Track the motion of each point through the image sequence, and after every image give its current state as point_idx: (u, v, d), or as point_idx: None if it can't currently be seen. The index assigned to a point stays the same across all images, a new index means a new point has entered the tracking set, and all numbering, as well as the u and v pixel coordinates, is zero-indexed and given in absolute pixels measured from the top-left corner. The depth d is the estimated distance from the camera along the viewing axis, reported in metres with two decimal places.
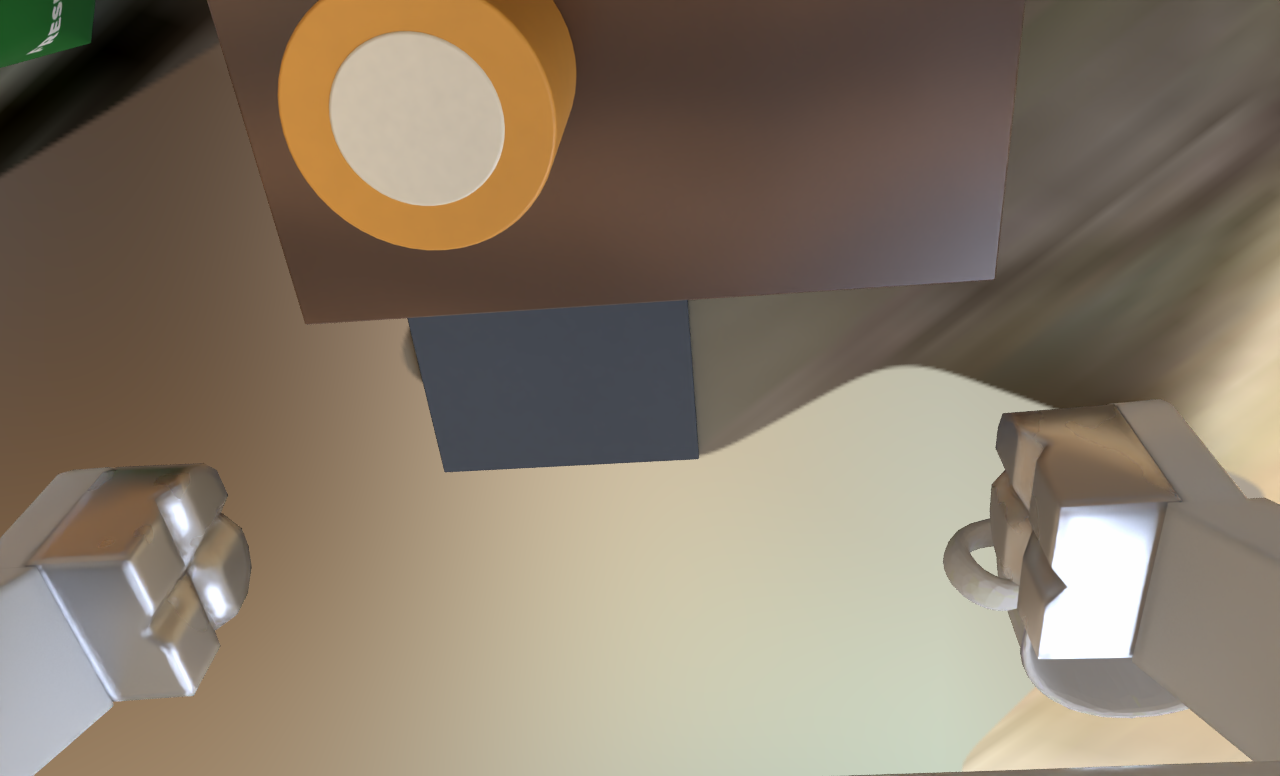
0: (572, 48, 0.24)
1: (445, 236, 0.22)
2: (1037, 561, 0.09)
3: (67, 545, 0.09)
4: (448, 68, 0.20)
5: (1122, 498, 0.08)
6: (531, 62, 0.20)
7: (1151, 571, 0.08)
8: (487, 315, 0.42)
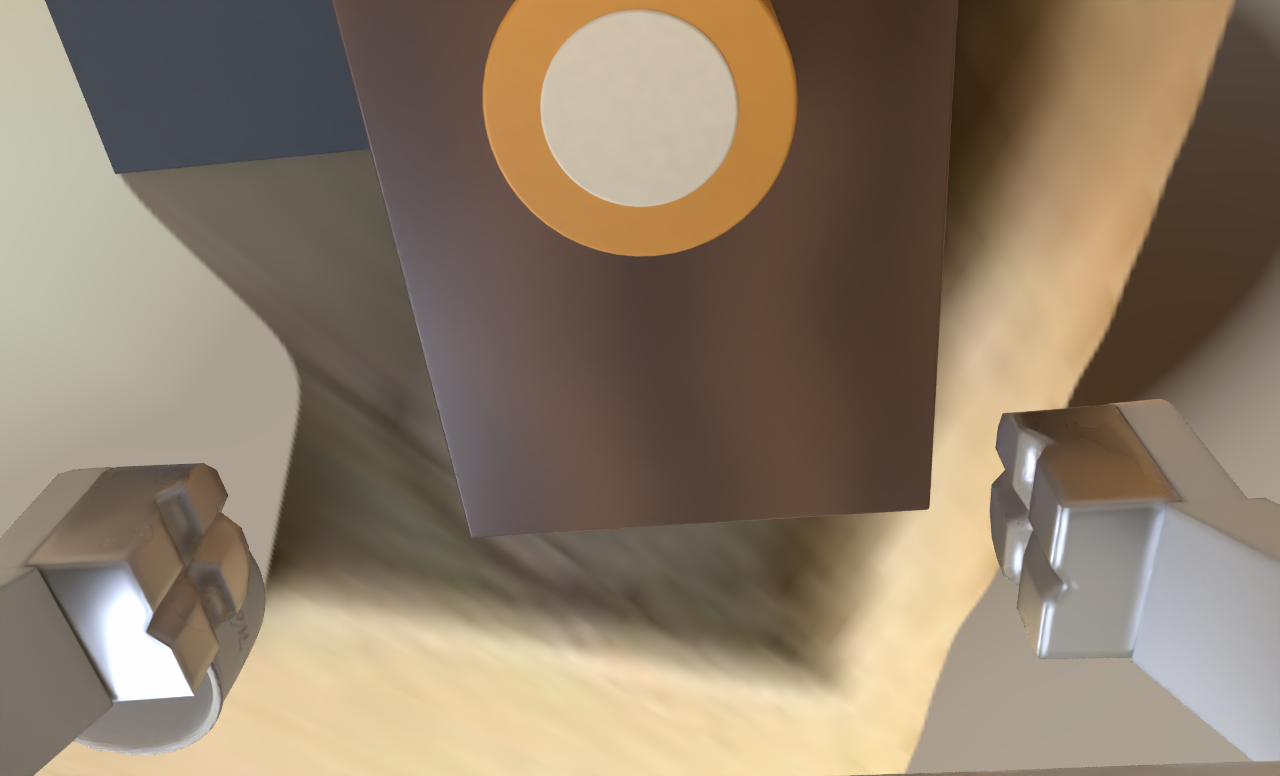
0: None
1: (504, 131, 0.19)
2: (1037, 561, 0.09)
3: (67, 545, 0.09)
4: (698, 153, 0.19)
5: (1122, 498, 0.08)
6: (704, 237, 0.20)
7: (1151, 571, 0.08)
8: None
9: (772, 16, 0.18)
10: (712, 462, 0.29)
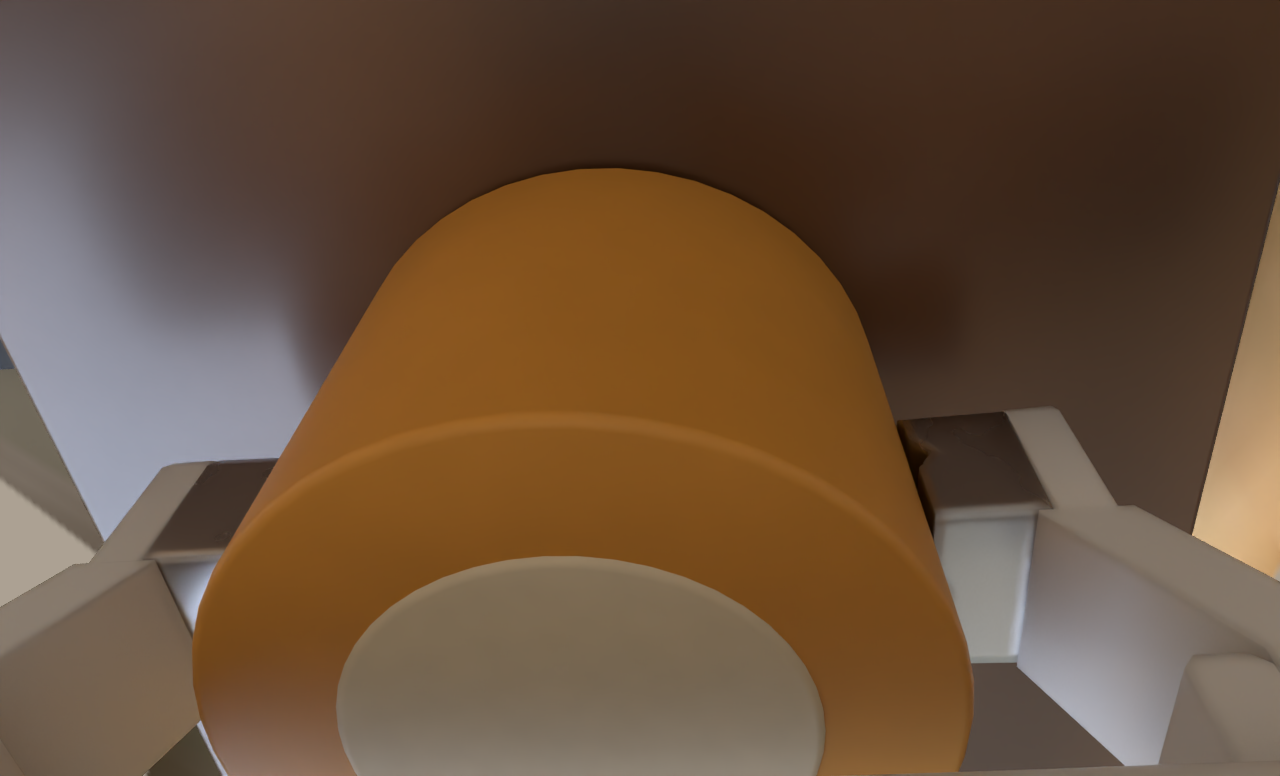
0: None
1: (256, 761, 0.08)
2: None
3: (184, 538, 0.09)
4: None
5: (997, 505, 0.08)
6: None
7: (1030, 577, 0.08)
8: None
9: (928, 576, 0.07)
10: None
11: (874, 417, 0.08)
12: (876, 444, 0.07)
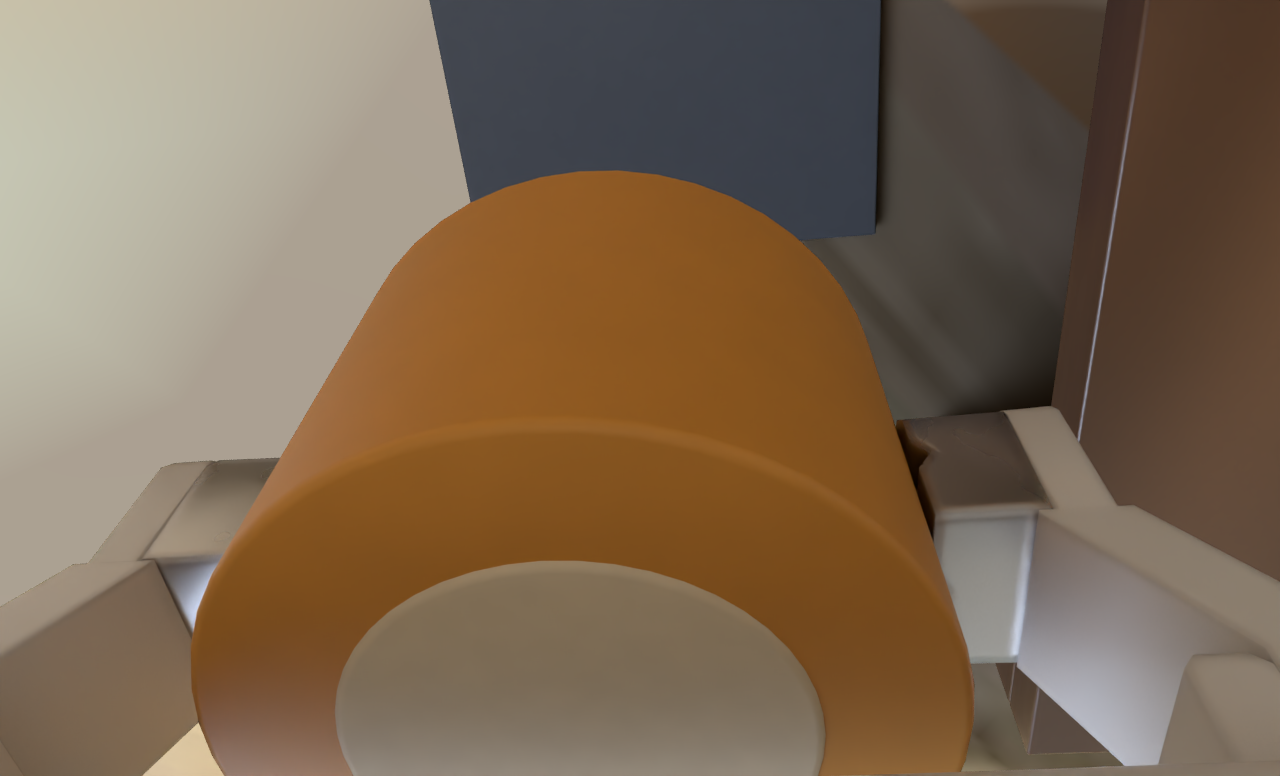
0: None
1: (255, 765, 0.08)
2: None
3: (182, 539, 0.09)
4: None
5: (997, 505, 0.08)
6: None
7: (1029, 577, 0.08)
8: None
9: (929, 581, 0.07)
10: None
11: (874, 420, 0.08)
12: (876, 448, 0.07)
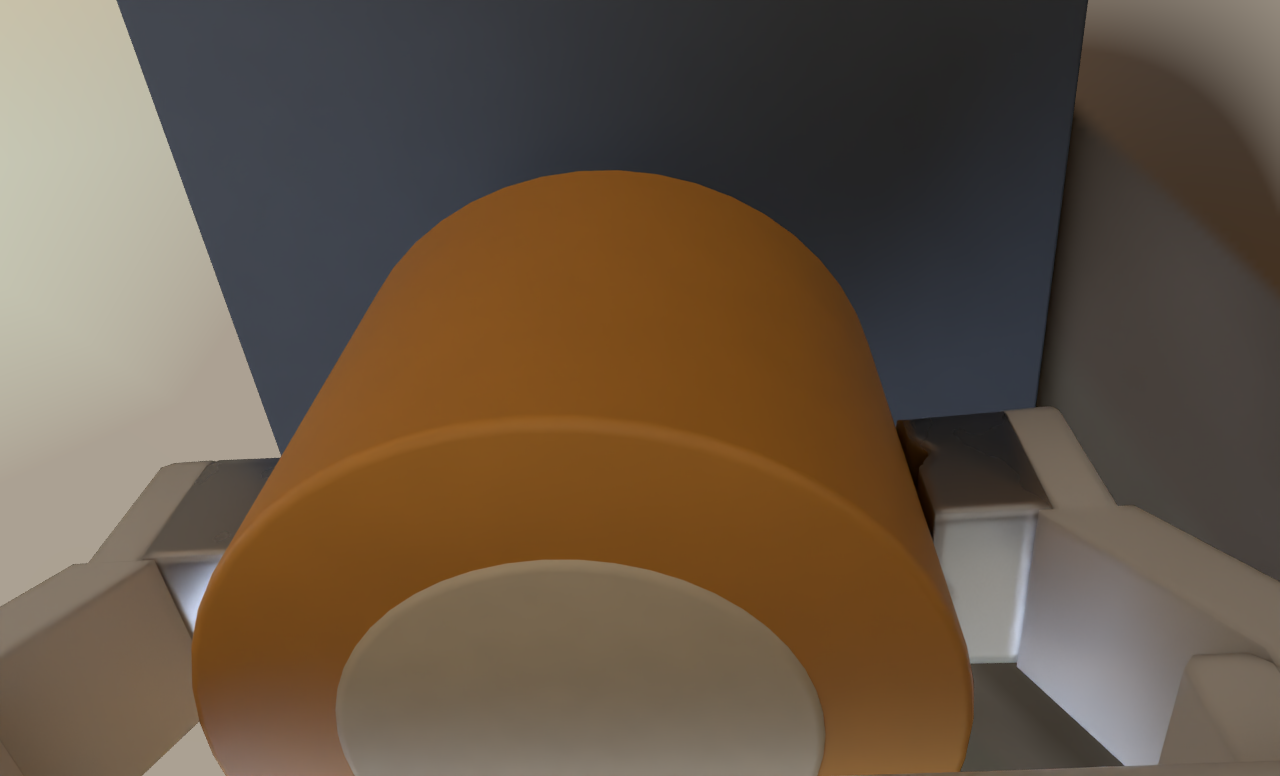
0: None
1: (256, 764, 0.08)
2: None
3: (182, 538, 0.09)
4: None
5: (997, 505, 0.08)
6: None
7: (1030, 578, 0.08)
8: (768, 105, 0.13)
9: (928, 580, 0.07)
10: None
11: (874, 420, 0.08)
12: (876, 447, 0.07)
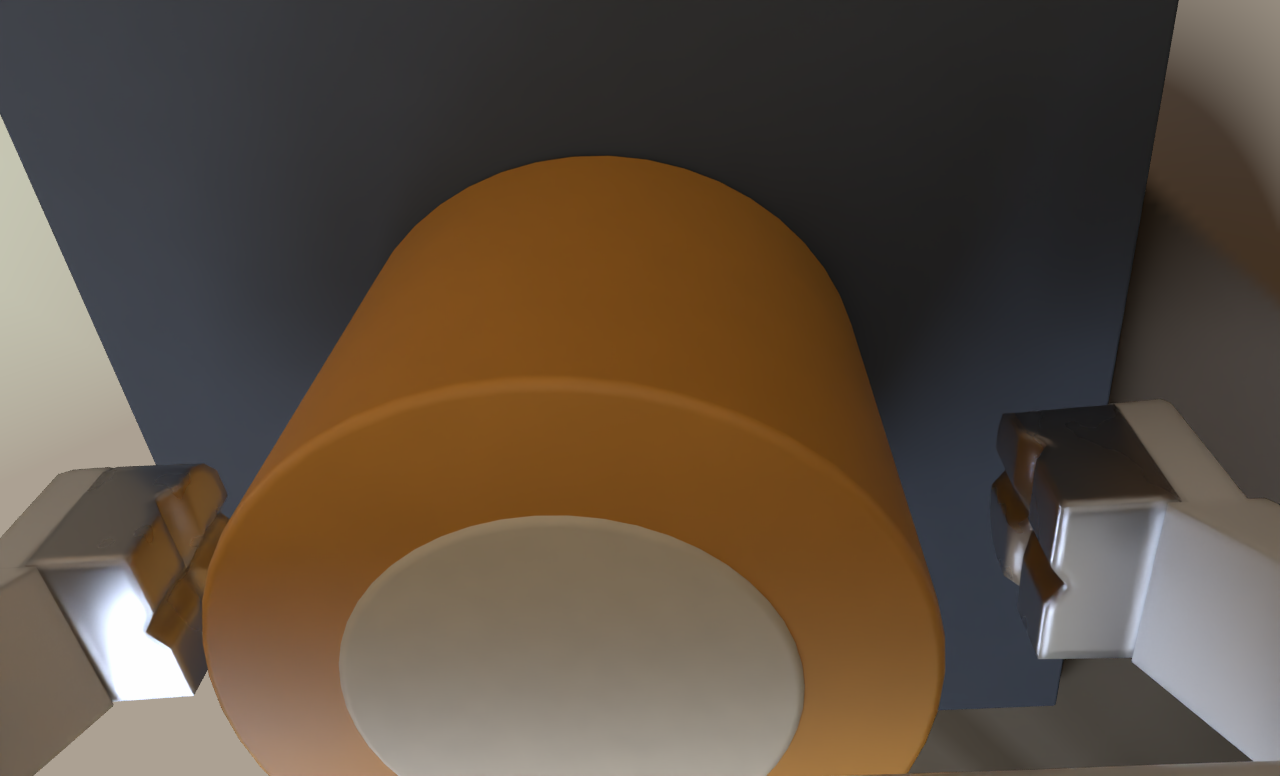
0: None
1: (263, 718, 0.08)
2: (1038, 561, 0.09)
3: (67, 545, 0.09)
4: (709, 762, 0.08)
5: (1123, 498, 0.08)
6: None
7: (1153, 572, 0.08)
8: (773, 179, 0.10)
9: (899, 535, 0.07)
10: None
11: (852, 390, 0.08)
12: (852, 414, 0.08)
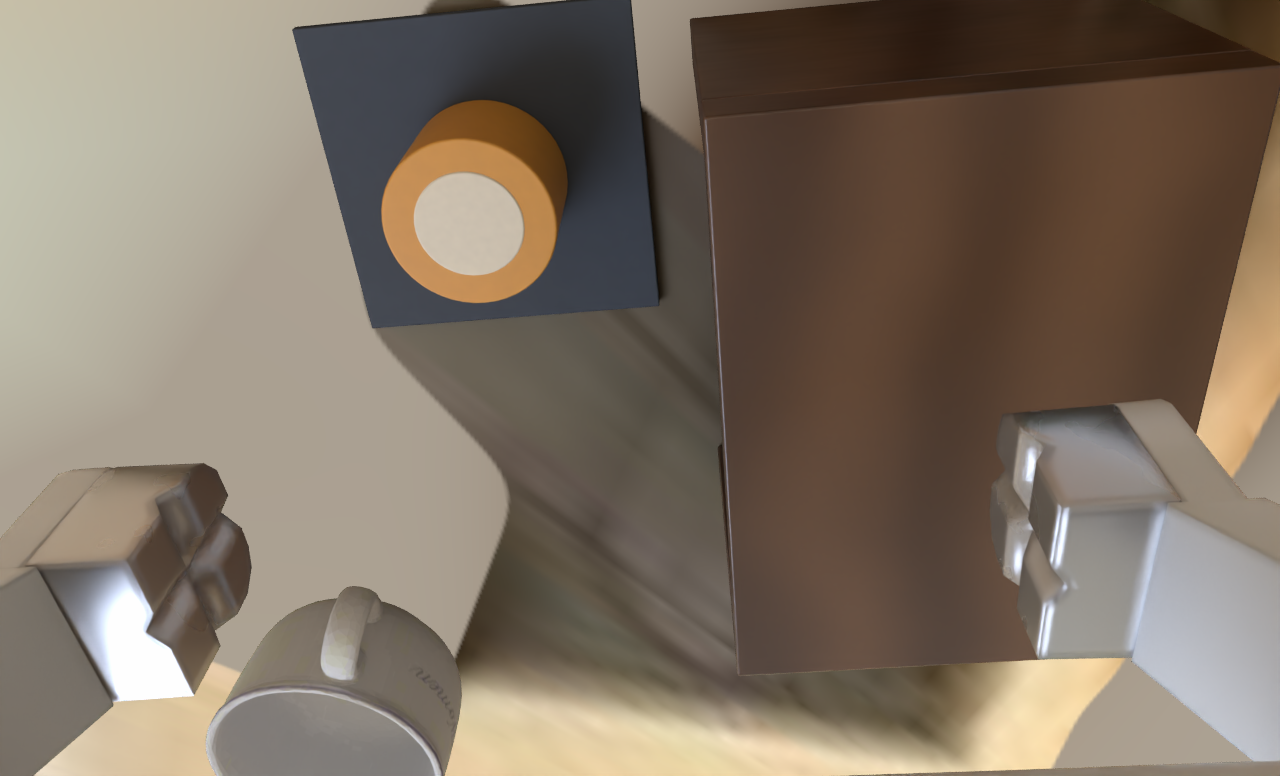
0: None
1: (394, 234, 0.34)
2: (1037, 561, 0.09)
3: (67, 545, 0.09)
4: (504, 246, 0.34)
5: (1122, 498, 0.08)
6: (512, 292, 0.35)
7: (1153, 571, 0.08)
8: (533, 107, 0.36)
9: (537, 176, 0.33)
10: (962, 617, 0.33)
11: (539, 154, 0.34)
12: (535, 156, 0.33)
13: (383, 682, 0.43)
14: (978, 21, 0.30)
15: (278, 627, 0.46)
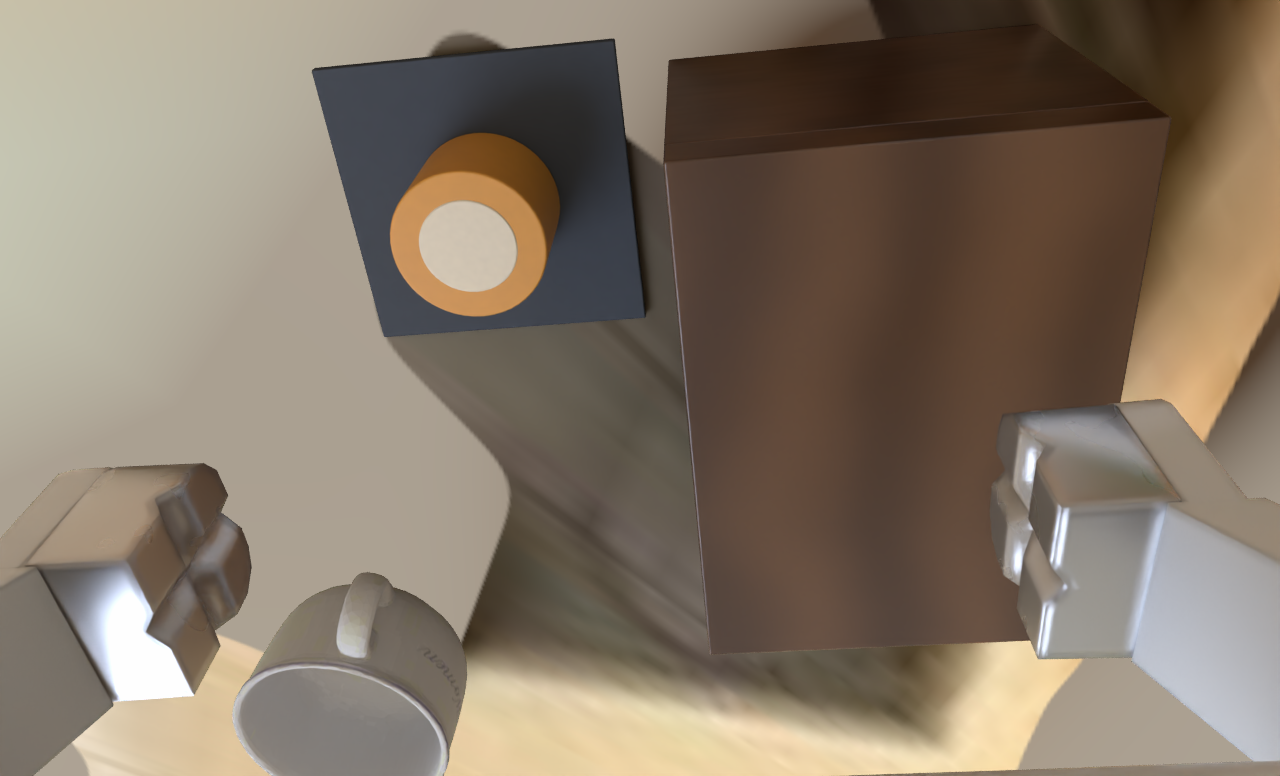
0: None
1: (401, 255, 0.38)
2: (1037, 561, 0.09)
3: (69, 545, 0.09)
4: (500, 266, 0.38)
5: (1122, 498, 0.08)
6: (507, 307, 0.39)
7: (1153, 572, 0.08)
8: (528, 139, 0.40)
9: (529, 204, 0.36)
10: (911, 602, 0.37)
11: (532, 183, 0.38)
12: (527, 186, 0.37)
13: (393, 660, 0.47)
14: (921, 67, 0.34)
15: (298, 610, 0.51)
